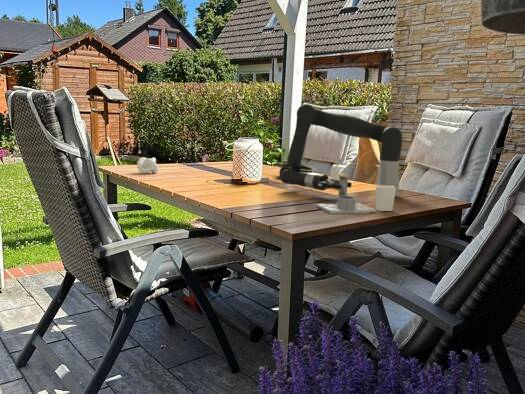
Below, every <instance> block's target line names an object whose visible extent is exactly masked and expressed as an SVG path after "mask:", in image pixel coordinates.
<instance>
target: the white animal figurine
mask: <svg viewBox="0 0 525 394" xmlns="http://www.w3.org/2000/svg"><path fill="white" fill-rule="evenodd" d="M156 162H157V159H156V157H152V158H147V157H140V158H139V159H138V160H137V169H138V171H139V172H140V173H141V174H143V175H145V174H149V173H150V172H151V173H152V174H157V173H158V172H159V167H158V164H157V163H156Z"/></svg>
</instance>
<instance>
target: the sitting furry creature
mask: <svg viewBox="0 0 525 394" xmlns="http://www.w3.org/2000/svg"><path fill="white" fill-rule="evenodd" d="M342 168H343V167H342V165H340V166H339V165H338V164H333V165H332V167H331V169H330V171H331V174H330V179H334V180H335V179H337V180H340V177H339V174H340V173H339V172H340V170H341V169H342Z"/></svg>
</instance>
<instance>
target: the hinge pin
mask: <svg viewBox="0 0 525 394" xmlns="http://www.w3.org/2000/svg"><path fill="white" fill-rule="evenodd" d="M339 177H340V181H339V184H340V185H341V188H340V189H338V196H348V187H347V183H348V181H349V178H350V174H348V173H339Z"/></svg>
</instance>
